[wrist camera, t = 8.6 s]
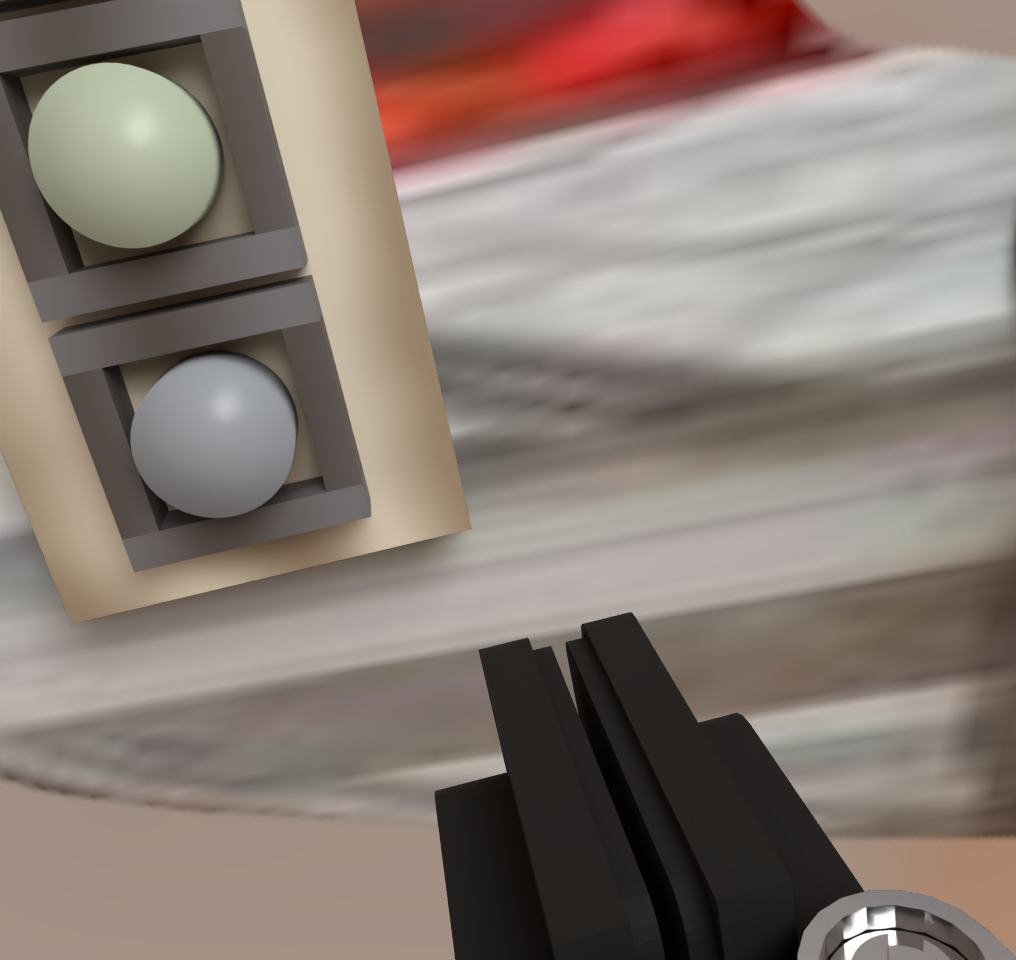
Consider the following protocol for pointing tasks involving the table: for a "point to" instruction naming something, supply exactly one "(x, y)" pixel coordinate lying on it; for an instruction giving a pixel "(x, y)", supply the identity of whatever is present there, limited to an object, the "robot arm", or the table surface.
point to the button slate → (215, 434)
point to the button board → (218, 306)
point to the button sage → (125, 155)
